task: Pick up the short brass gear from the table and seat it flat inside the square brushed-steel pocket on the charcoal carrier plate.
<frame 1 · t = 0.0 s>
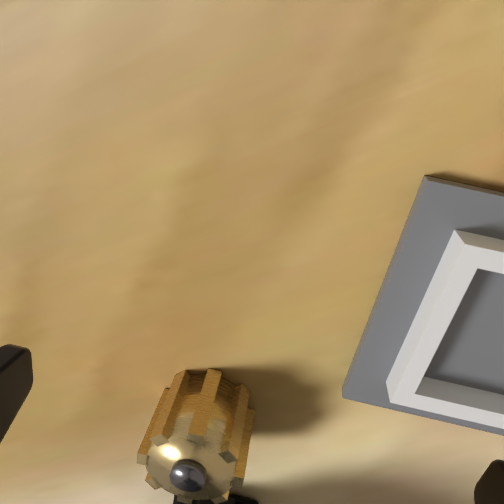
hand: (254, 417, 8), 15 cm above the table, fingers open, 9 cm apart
gear: (208, 403, 29), on the table
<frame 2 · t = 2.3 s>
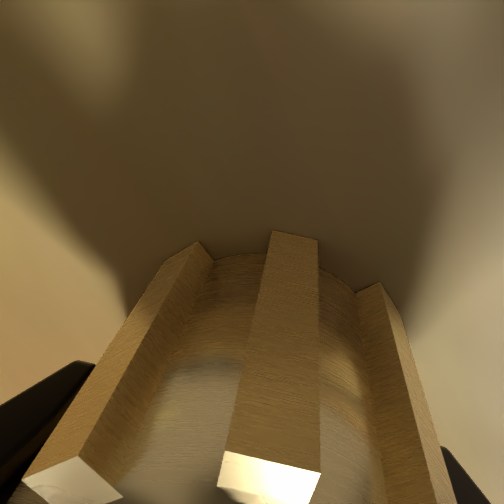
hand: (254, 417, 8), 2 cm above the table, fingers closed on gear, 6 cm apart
gear: (264, 354, 10), on the table, touching gripper
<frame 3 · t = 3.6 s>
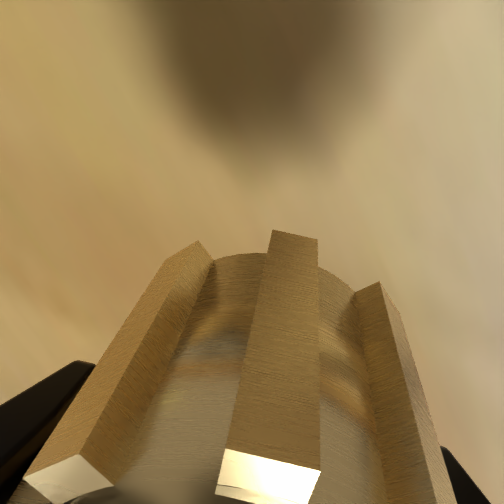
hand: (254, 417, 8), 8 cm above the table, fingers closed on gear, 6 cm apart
gear: (264, 354, 10), point 6 cm above the table, touching gripper
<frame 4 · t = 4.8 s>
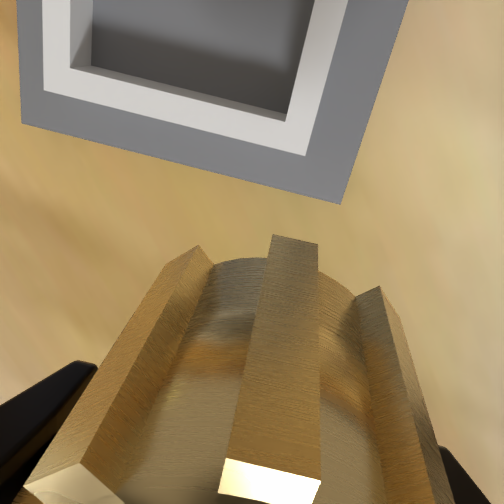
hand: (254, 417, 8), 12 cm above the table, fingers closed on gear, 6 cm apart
gear: (264, 357, 10), point 10 cm above the table, touching gripper
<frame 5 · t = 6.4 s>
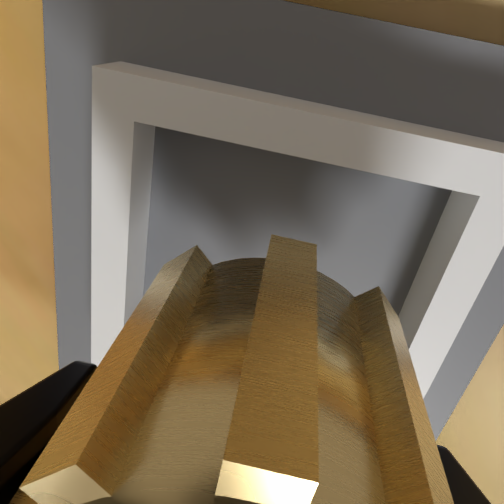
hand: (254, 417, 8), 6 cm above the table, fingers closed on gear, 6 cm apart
gear: (263, 358, 10), point 5 cm above the table, touching gripper
carrier plate: (276, 259, 14), on the table
when the fingers open (4 cm above the table, at t = 7.3 s): gear drops 1 cm, resting on carrier plate.
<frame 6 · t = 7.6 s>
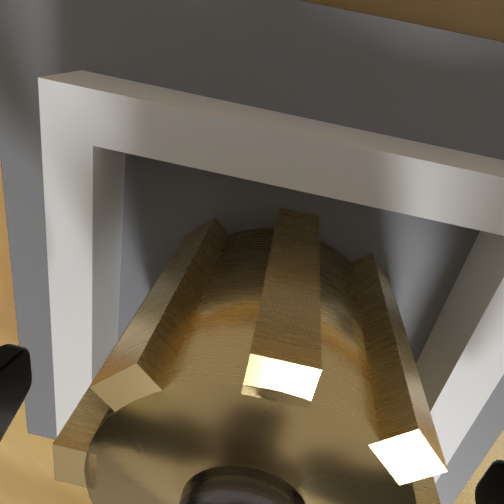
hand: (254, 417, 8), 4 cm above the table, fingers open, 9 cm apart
gear: (271, 319, 11), point 1 cm above the table, touching carrier plate
carrier plate: (272, 298, 12), on the table
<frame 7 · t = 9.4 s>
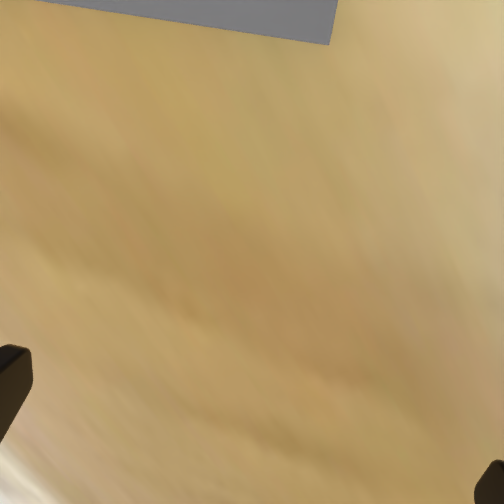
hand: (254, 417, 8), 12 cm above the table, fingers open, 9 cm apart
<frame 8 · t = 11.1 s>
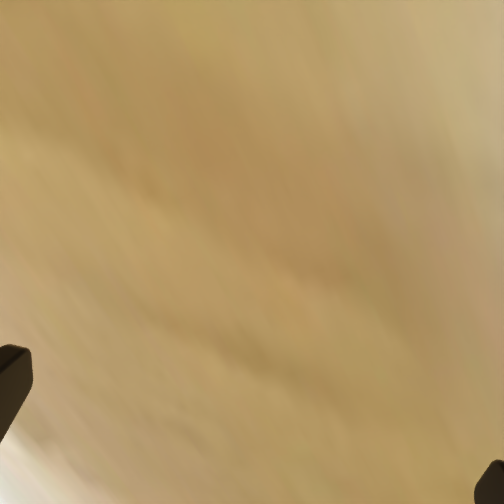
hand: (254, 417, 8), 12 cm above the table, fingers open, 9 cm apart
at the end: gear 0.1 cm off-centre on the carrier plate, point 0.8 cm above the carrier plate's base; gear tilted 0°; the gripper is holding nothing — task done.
